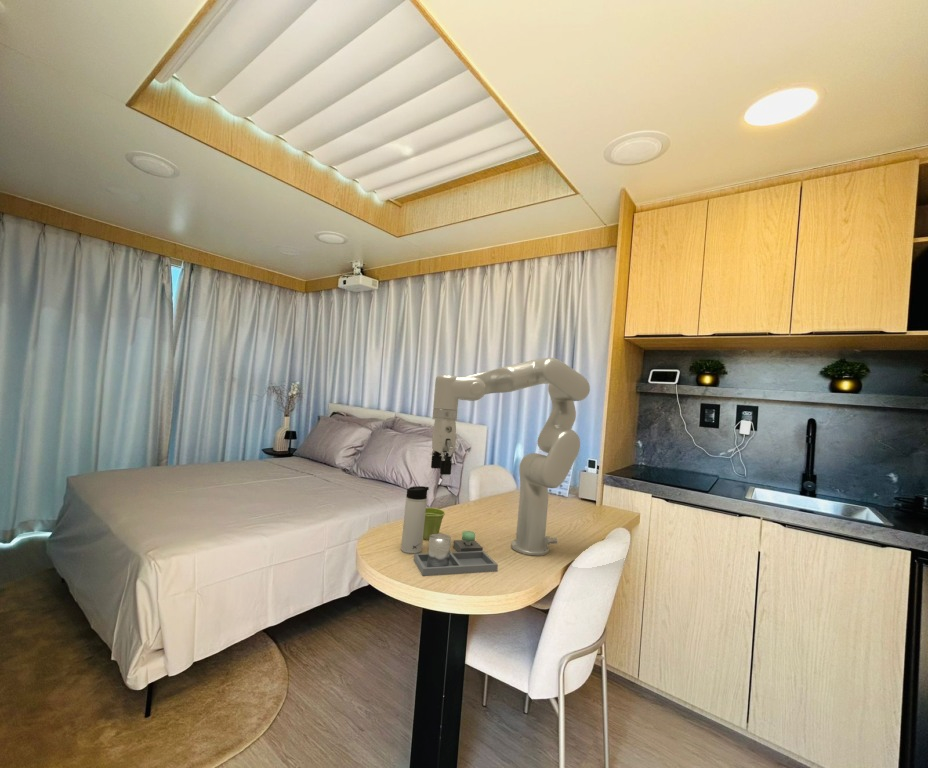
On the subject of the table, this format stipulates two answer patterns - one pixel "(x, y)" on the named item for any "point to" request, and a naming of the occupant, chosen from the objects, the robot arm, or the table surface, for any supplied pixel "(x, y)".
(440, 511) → the plant pot
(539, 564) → the table surface
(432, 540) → the steel stub
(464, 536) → the button
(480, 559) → the divided tray
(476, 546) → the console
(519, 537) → the robot arm
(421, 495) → the travel mug
